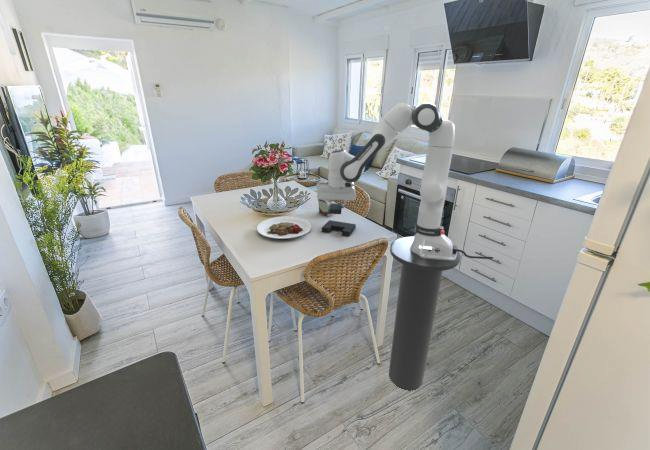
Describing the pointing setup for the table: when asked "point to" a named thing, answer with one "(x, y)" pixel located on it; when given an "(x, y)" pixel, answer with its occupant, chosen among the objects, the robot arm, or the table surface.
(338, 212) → the grey pad
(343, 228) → the black pad
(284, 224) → the plated food
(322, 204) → the food container
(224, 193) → the table surface
